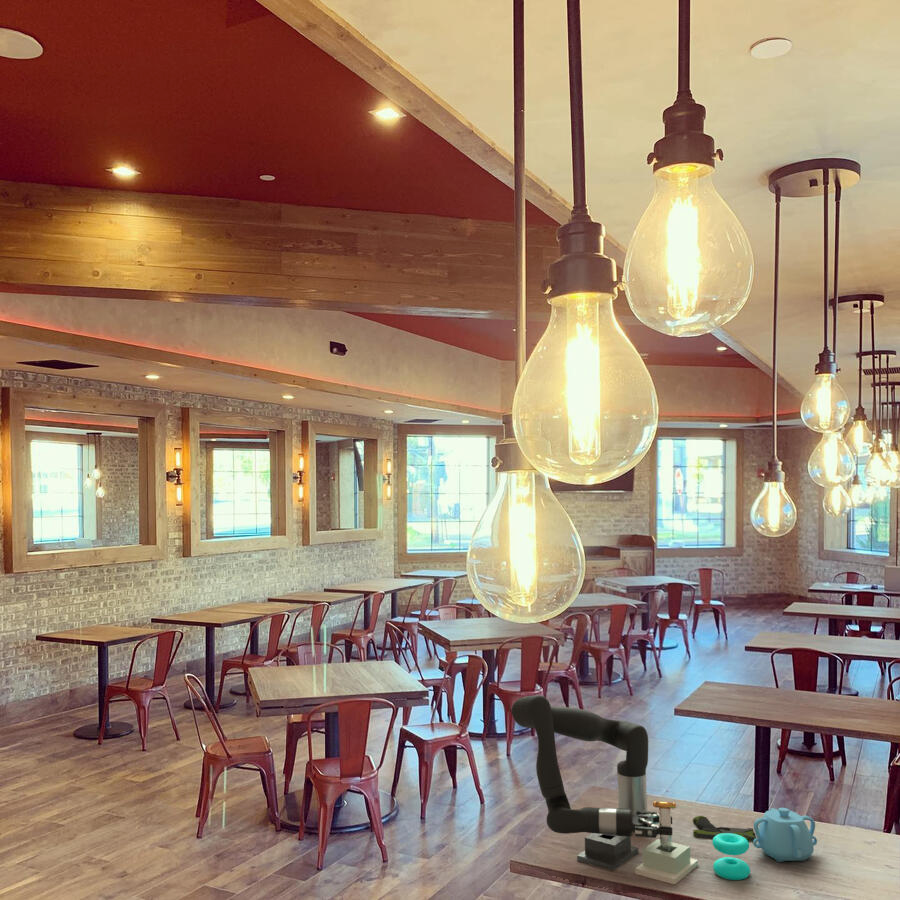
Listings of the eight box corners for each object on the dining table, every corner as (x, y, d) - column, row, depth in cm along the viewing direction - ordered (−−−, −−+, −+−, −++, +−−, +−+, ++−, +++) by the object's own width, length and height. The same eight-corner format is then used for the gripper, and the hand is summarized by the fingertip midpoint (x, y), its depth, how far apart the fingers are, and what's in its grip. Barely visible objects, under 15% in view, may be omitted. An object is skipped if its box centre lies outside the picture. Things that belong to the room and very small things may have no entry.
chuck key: (654, 865, 251) (652, 803, 252) (654, 860, 254) (652, 799, 255) (678, 867, 250) (676, 804, 251) (678, 862, 253) (676, 801, 254)
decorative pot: (825, 855, 260) (823, 809, 260) (799, 871, 249) (797, 823, 250) (773, 840, 272) (771, 796, 272) (746, 855, 261) (745, 808, 262)
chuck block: (603, 843, 272) (602, 823, 272) (638, 852, 264) (638, 832, 264) (577, 860, 259) (576, 840, 259) (613, 870, 252) (612, 849, 252)
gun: (750, 826, 285) (757, 845, 270) (690, 822, 289) (694, 841, 274) (750, 818, 285) (757, 837, 270) (690, 814, 289) (694, 832, 274)
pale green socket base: (659, 855, 262) (659, 834, 262) (698, 865, 254) (697, 844, 255) (635, 873, 249) (634, 852, 250) (674, 884, 242) (674, 862, 242)
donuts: (717, 829, 256) (752, 835, 250) (718, 864, 255) (753, 871, 250) (708, 840, 247) (744, 847, 242) (709, 877, 247) (745, 884, 241)
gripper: (613, 817, 249) (672, 821, 245) (616, 800, 263) (671, 803, 259) (614, 844, 249) (673, 848, 245) (617, 825, 263) (672, 829, 259)
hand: (672, 825), depth 252 cm, fingers open, 8 cm apart
